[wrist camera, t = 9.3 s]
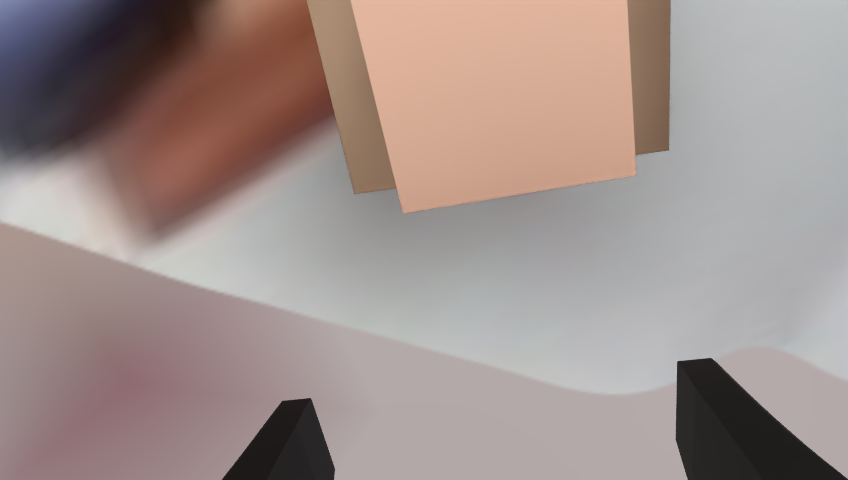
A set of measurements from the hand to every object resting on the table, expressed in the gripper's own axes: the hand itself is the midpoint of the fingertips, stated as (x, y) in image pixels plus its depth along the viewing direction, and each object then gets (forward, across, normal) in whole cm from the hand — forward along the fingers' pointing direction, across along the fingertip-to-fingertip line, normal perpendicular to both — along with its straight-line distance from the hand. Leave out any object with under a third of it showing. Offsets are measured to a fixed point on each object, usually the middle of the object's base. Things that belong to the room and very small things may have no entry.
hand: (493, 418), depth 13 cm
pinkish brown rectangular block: (+10, -1, -6) cm, 11 cm away
